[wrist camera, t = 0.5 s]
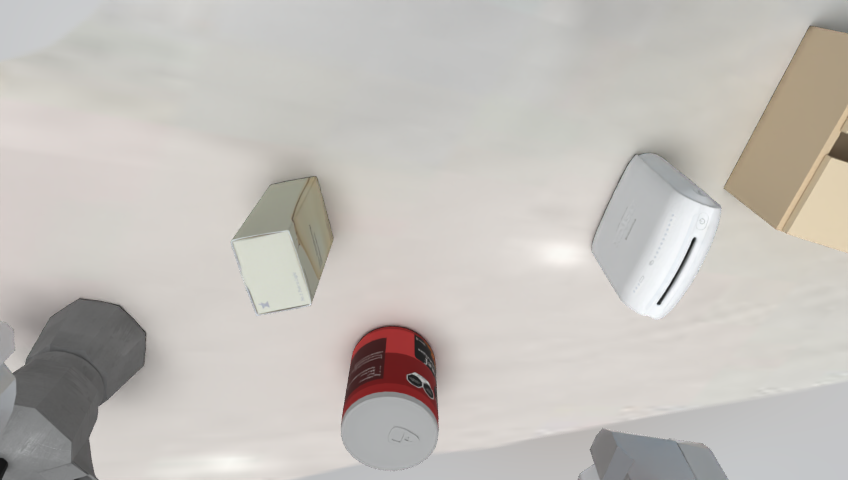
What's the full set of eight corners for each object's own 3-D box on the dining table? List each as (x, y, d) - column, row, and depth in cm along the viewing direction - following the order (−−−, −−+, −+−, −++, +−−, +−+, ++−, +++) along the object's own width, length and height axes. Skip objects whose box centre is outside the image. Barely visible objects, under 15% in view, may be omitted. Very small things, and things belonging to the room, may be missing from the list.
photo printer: (632, 144, 55) (688, 195, 44) (678, 159, 56) (745, 214, 45) (582, 250, 59) (621, 323, 48) (626, 264, 60) (675, 338, 48)
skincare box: (334, 239, 58) (315, 308, 47) (286, 248, 59) (255, 319, 48) (315, 172, 56) (291, 229, 45) (265, 182, 56) (228, 241, 45)
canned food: (432, 392, 65) (435, 474, 55) (351, 388, 65) (339, 470, 55) (438, 325, 62) (442, 398, 52) (352, 321, 62) (340, 394, 52)
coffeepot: (185, 339, 62) (103, 479, 46) (142, 406, 65) (50, 560, 49) (27, 254, 59) (-124, 374, 42) (-11, 329, 62) (-166, 469, 45)
